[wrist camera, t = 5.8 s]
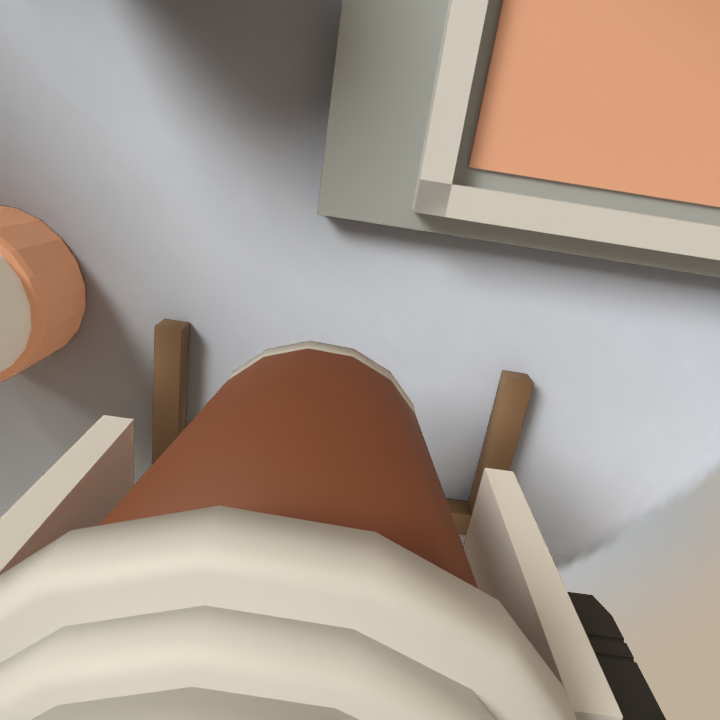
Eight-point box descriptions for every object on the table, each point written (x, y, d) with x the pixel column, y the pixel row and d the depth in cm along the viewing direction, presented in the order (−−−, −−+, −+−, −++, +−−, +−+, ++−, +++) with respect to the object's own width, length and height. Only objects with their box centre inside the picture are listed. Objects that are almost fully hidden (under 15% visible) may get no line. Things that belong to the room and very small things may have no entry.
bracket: (160, 476, 29) (151, 489, 28) (164, 318, 26) (154, 326, 25) (485, 523, 29) (489, 538, 28) (527, 374, 26) (533, 383, 25)
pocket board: (320, 211, 24) (312, 218, 21) (389, -363, 17) (391, -462, 15) (811, 288, 24) (868, 305, 21) (1050, -244, 18) (1175, -320, 15)
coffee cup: (392, 593, 19) (426, 1251, 8) (133, 507, 18) (-279, 1129, 6) (518, 365, 16) (893, 906, 4) (213, 243, 15) (-306, 555, 3)
